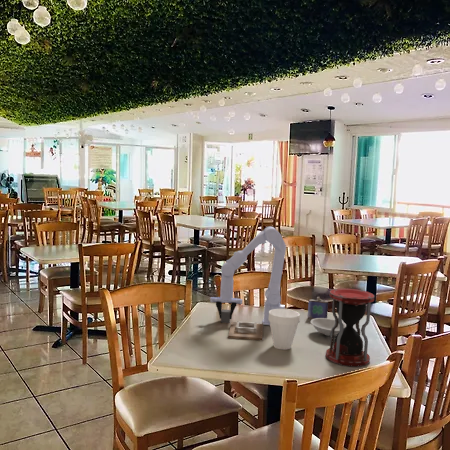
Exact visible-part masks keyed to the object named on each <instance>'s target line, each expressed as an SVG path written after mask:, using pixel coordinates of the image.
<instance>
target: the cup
mask: <svg viewBox="0 0 450 450" xmlns="http://www.w3.org/2000/svg"><path fill="white" fill-rule="evenodd" d="M300 316H301V315H300V312H298V311H296V310H294V309H293V310H292V309H289V308H285V309H273V310H270V311H269V318H268V320H269V322H270V325H269V326H270V332H271V338H272V343H273V347H274V348H275V349H278V350H282V351H283V350H285V351H286V350H290V349H291V348H292V345H293V343H294V339H295V336H296V332H297V329H298V327H299V323H300V321H301V319H300Z"/></svg>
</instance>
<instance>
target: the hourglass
mask: <svg viewBox="0 0 450 450" xmlns="http://www.w3.org/2000/svg"><path fill="white" fill-rule="evenodd" d="M328 295H329V297H330V298H331V299H332V311H331V313H332V316H333V318H334V320H335V325H334V327H333V328H332V330H331V335H330V339H329V341H330V342H329V348H327V349H326V350H325V357H326V359H328V361H330V362H332V363H334V364H338V365H340V366H344V367H345V366H346V367H364V366H367V365H368V364H370V359H371V357H370V354H368V345H369V341H368V337H367V335H366V327H367V326H368V325H369V323H370V320H371V319H370V318H371V305H372V303H374V302H375V294H373V293H371V292H369V291H366V290H363V289H362V290H360V289H356V288H355V289H354V288H332V289H331V290H330V291H329V294H328ZM336 312H337V313H336ZM337 315H338V316H337ZM365 315H366V319H365V322H364V323H363V324H362V326H361V328H360V321H361V320H362V319H363V318H364V316H365ZM343 323H344V324H345V325H346V327H345V328H343ZM338 324H339V325H340V331H339V333H338V334H337V335H334V330H335V329H336V328H337V327H338ZM354 326H355V328H354ZM334 336H335V337H334ZM361 336H362V337H363V339H362V337H361Z"/></svg>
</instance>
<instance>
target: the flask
mask: <svg viewBox="0 0 450 450" xmlns="http://www.w3.org/2000/svg"><path fill="white" fill-rule="evenodd" d="M307 304H308V307H307V319H309V320H310V319H311V320H312V319H315V318H327V319H328V309H329V301H328V300H325V299H321V298H320V296H317V297H316V299H309V300H308V303H307Z"/></svg>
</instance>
